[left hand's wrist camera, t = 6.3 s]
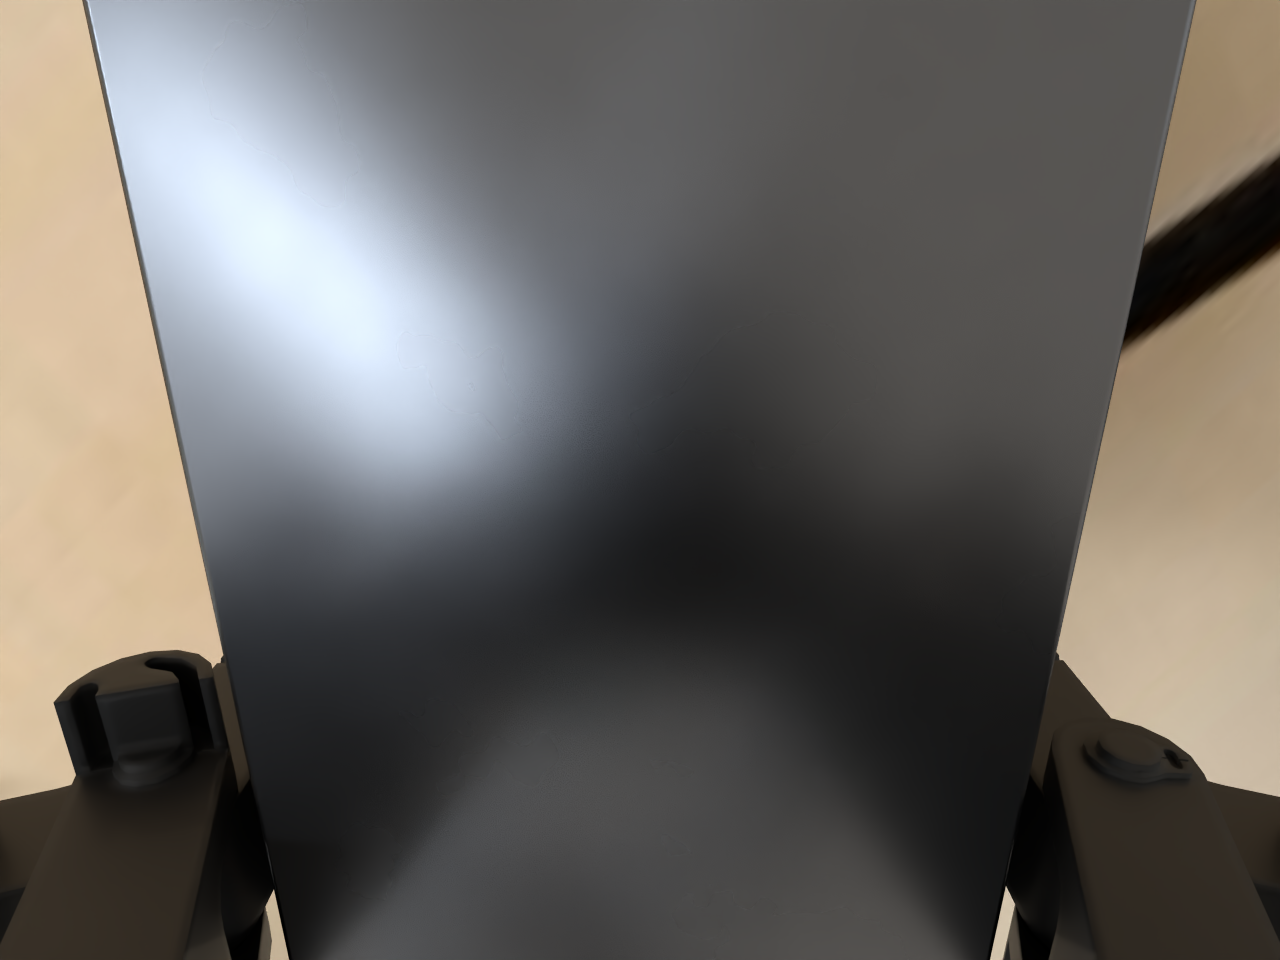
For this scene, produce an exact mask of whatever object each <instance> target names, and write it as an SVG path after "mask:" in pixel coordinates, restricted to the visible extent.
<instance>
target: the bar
mask: <svg viewBox="0 0 1280 960" xmlns="http://www.w3.org/2000/svg"><path fill="white" fill-rule="evenodd" d="M82 1H83V6H84V10H85V15H86V19H87V24H88V29H89V33H90V38H91V43H92V47H93V52H94V57H95V61H96V66H97V70H98V75H99V80H100V84H101V89H102V94H103V98H104V103H105V108H106V112H107V117H108V122H109V126H110V131H111V135H112V140H113V145H114V149H115V154H116V159H117V163H118V168H119V173H120V177H121V182H122V186H123V191H124V196H125V200H126V205H127V210H128V214H129V219H130V224H131V228H132V233H133V237H134V242H135V247H136V251H137V256H138V261H139V265H140V270H141V275H142V279H143V284H144V288H145V293H146V298H147V302H148V307H149V312H150V316H151V321H152V326H153V330H154V335H155V339H156V344H157V349H158V353H159V358H160V363H161V367H162V372H163V377H164V381H165V386H166V390H167V395H168V400H169V404H170V409H171V414H172V418H173V423H174V428H175V432H176V437H177V442H178V446H179V451H180V455H181V460H182V465H183V469H184V474H185V479H186V483H187V488H188V493H189V497H190V502H191V506H192V511H193V516H194V520H195V525H196V530H197V534H198V539H199V544H200V548H201V553H202V557H203V562H204V567H205V571H206V576H207V581H208V585H209V590H210V595H211V599H212V604H213V608H214V613H215V618H216V622H217V627H218V632H219V636H220V641H221V646H222V650H223V655H224V659H225V664H226V669H227V673H228V678H229V683H230V687H231V692H232V697H233V701H234V706H235V711H236V715H237V720H238V724H239V729H240V734H241V738H242V743H243V748H244V752H245V757H246V762H247V766H248V771H249V775H250V780H251V785H252V789H253V794H254V799H255V803H256V808H257V813H258V817H259V822H260V826H261V831H262V836H263V840H264V845H265V850H266V854H267V859H268V864H269V868H270V873H271V877H272V882H273V887H274V891H275V896H276V901H277V905H278V910H279V915H280V919H281V924H282V928H283V933H284V938H285V942H286V947H287V952H288V956H289V960H990V957H991V952H992V948H993V943H994V938H995V934H996V929H997V924H998V920H999V915H1000V911H1001V906H1002V901H1003V897H1004V892H1005V887H1006V883H1007V878H1008V873H1009V869H1010V864H1011V859H1012V855H1013V850H1014V845H1015V841H1016V836H1017V832H1018V827H1019V822H1020V818H1021V813H1022V808H1023V804H1024V799H1025V794H1026V790H1027V785H1028V780H1029V776H1030V771H1031V767H1032V762H1033V757H1034V753H1035V748H1036V743H1037V739H1038V734H1039V729H1040V725H1041V720H1042V715H1043V711H1044V706H1045V701H1046V697H1047V692H1048V688H1049V683H1050V678H1051V674H1052V669H1053V664H1054V660H1055V655H1056V650H1057V646H1058V641H1059V636H1060V632H1061V627H1062V622H1063V618H1064V613H1065V609H1066V604H1067V599H1068V595H1069V590H1070V585H1071V581H1072V576H1073V571H1074V567H1075V562H1076V557H1077V553H1078V548H1079V544H1080V539H1081V534H1082V530H1083V525H1084V520H1085V516H1086V511H1087V506H1088V502H1089V497H1090V492H1091V488H1092V483H1093V478H1094V474H1095V469H1096V465H1097V460H1098V455H1099V451H1100V446H1101V441H1102V437H1103V432H1104V427H1105V423H1106V418H1107V413H1108V409H1109V404H1110V400H1111V395H1112V390H1113V386H1114V381H1115V376H1116V372H1117V367H1118V362H1119V358H1120V353H1121V348H1122V344H1123V339H1124V334H1125V330H1126V325H1127V321H1128V316H1129V311H1130V307H1131V302H1132V297H1133V293H1134V288H1135V283H1136V279H1137V274H1138V269H1139V265H1140V260H1141V255H1142V251H1143V246H1144V242H1145V237H1146V232H1147V228H1148V223H1149V218H1150V214H1151V209H1152V204H1153V200H1154V195H1155V190H1156V186H1157V181H1158V177H1159V172H1160V167H1161V163H1162V158H1163V153H1164V149H1165V144H1166V139H1167V135H1168V130H1169V125H1170V121H1171V116H1172V111H1173V107H1174V102H1175V98H1176V93H1177V88H1178V84H1179V79H1180V74H1181V70H1182V65H1183V60H1184V56H1185V51H1186V46H1187V42H1188V37H1189V33H1190V28H1191V23H1192V19H1193V14H1194V9H1195V5H1196V0H82Z"/></svg>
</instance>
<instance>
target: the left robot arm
mask: <svg viewBox="0 0 1280 960" xmlns="http://www.w3.org/2000/svg"><path fill="white" fill-rule="evenodd" d="M54 706H55V709H56V712H57V715H58V718H59V722H60V725H61V728H62V731H63V735H64V738H65V741H66V744H67V747H68V751H69V754H70V757H71V760H72V763H73V767H74V770H75V773H76V776H75V779H74V781H73V783H72V785H69V786H66V787H62V788H58V789H54V790H49V791H44V792H40V793H35V794H30V795H25V796H21V797H16V798H11V799H6V800H1V801H0V960H270V952H271V943H272V939H271V933H270V926H269V921H268V916H267V912H266V907H265V906H266V904H267V902H268V900H269V898H270V896H271V894H272V892H273V890H274V887H273V882H272V877H271V873H270V868H269V864H268V859H267V854H266V850H265V845H264V840H263V836H262V831H261V826H260V822H259V817H258V813H257V808H256V803H255V799H254V794H253V789H252V785H251V780H250V775H249V771H248V766H247V762H246V757H245V752H244V748H243V743H242V738H241V734H240V729H239V724H238V720H237V715H236V711H235V706H234V701H233V697H232V692H231V687H230V683H229V678H228V673H227V669H226V664H225V659H224V655H223V657H222V658H221V663H217V664H216V665H215V666H214V668H213V669H212V666H211V663H210V662H209V661H207V660H206V659H204V658H203V657H202V656H200V655H199V654H195V653H190V652H185V651H180V650H170V651H153V652H147V653H143V654H138V655H134V656H130V657H126V658H122V659H119V660H116V661H114V662H112V663H109V664H107V665H104V666H102V667H99V668H97V669H94V670H92V671H91V672H89V673H87V674H86V675H84V676H83V677H81V678H80V679H78V680H77V681H75V682H73V683H72V684H70V685H69V686H68V687H67V688H66V689H65V690H64V691H63V692H62V694H61V695H60V696H59V697H58V698H57V699H56V700H55V702H54ZM1006 887H1007V889H1008V891H1009V893H1010V895H1011V897H1012V899H1013V901H1014V903H1015V907H1014V912H1013V916H1012V921H1011V925H1010V930H1009V934H1008V939H1007V943H1006V948H1005V952H1004V957H1003V960H1280V797H1277V796H1272V795H1267V794H1263V793H1258V792H1253V791H1248V790H1243V789H1239V788H1234V787H1229V786H1224V785H1220V784H1217V783H1213V782H1209V781H1207V779H1206V777H1205V775H1204V773H1203V772H1202V771H1201V769H1200V768H1199V767H1198V765H1197V764H1196V763H1195V761H1194V760H1193V758H1192V757H1191V756H1190V755H1189V754H1187V753H1186V752H1185V751H1183V750H1182V749H1181V748H1179V747H1178V746H1177V745H1175V744H1174V743H1173V742H1171V741H1170V740H1169V739H1167V738H1165V737H1163V736H1160V735H1158V734H1156V733H1154V732H1152V731H1150V730H1148V729H1146V728H1143V727H1141V726H1138V725H1134V724H1131V723H1127V722H1123V721H1119V720H1116V719H1111V718H1110V716H1109V715H1108V714H1107V713H1106V712H1105V710H1104V709H1103V708H1102V707H1101V706H1100V704H1099V703H1098V702H1097V701H1096V700H1095V698H1094V697H1093V696H1092V695H1091V694H1090V692H1089V691H1088V690H1087V689H1086V687H1085V686H1084V685H1083V684H1082V683H1081V681H1080V680H1079V679H1078V678H1077V677H1076V675H1075V674H1074V673H1073V672H1072V671H1071V669H1070V668H1069V667H1068V666H1067V664H1066V663H1065V662H1064V661H1063V660H1059V655H1058V654H1057V652H1056V655H1055V660H1054V664H1053V669H1052V674H1051V678H1050V683H1049V688H1048V692H1047V697H1046V701H1045V706H1044V711H1043V715H1042V720H1041V725H1040V729H1039V734H1038V739H1037V743H1036V748H1035V753H1034V757H1033V762H1032V767H1031V771H1030V776H1029V780H1028V785H1027V790H1026V794H1025V799H1024V804H1023V808H1022V813H1021V818H1020V822H1019V827H1018V832H1017V836H1016V841H1015V845H1014V850H1013V855H1012V859H1011V864H1010V869H1009V873H1008V878H1007V883H1006Z"/></svg>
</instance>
